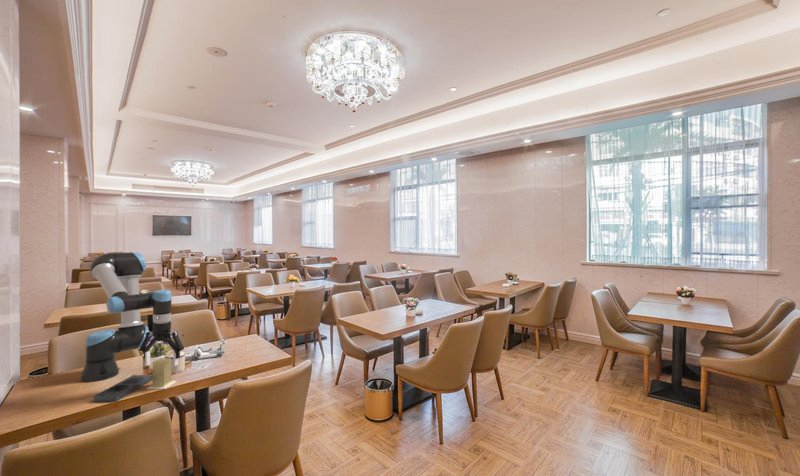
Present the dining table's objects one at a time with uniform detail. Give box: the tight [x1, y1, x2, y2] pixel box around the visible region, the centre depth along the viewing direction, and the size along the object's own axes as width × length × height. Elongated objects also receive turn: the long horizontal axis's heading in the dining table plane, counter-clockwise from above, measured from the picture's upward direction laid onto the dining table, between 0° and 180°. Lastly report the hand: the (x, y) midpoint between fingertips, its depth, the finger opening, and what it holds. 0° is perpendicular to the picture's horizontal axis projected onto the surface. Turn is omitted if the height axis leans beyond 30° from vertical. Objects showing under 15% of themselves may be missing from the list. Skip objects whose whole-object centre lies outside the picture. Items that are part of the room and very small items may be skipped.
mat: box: [146, 380, 177, 390], centre depth 173 cm, size 9×9×1 cm
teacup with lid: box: [164, 349, 186, 375], centre depth 191 cm, size 12×9×12 cm
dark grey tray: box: [92, 374, 153, 403], centre depth 168 cm, size 10×24×3 cm, turn 2°
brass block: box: [152, 357, 172, 387], centre depth 173 cm, size 6×6×12 cm
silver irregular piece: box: [192, 338, 228, 362], centre depth 217 cm, size 18×10×12 cm
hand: (161, 365), depth 173 cm, fingers open, 13 cm apart
